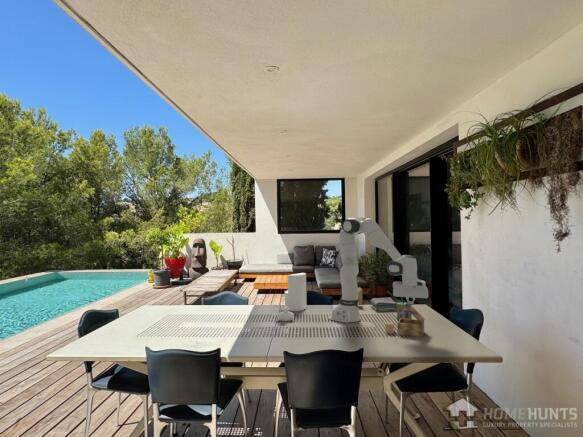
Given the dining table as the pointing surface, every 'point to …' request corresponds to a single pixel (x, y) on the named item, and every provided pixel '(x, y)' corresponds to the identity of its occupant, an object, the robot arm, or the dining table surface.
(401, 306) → the chalk box
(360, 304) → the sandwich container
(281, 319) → the bust
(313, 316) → the dining table surface
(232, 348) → the dining table surface
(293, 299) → the cylinder
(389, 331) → the cube
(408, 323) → the crate
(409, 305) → the lid
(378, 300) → the towel
